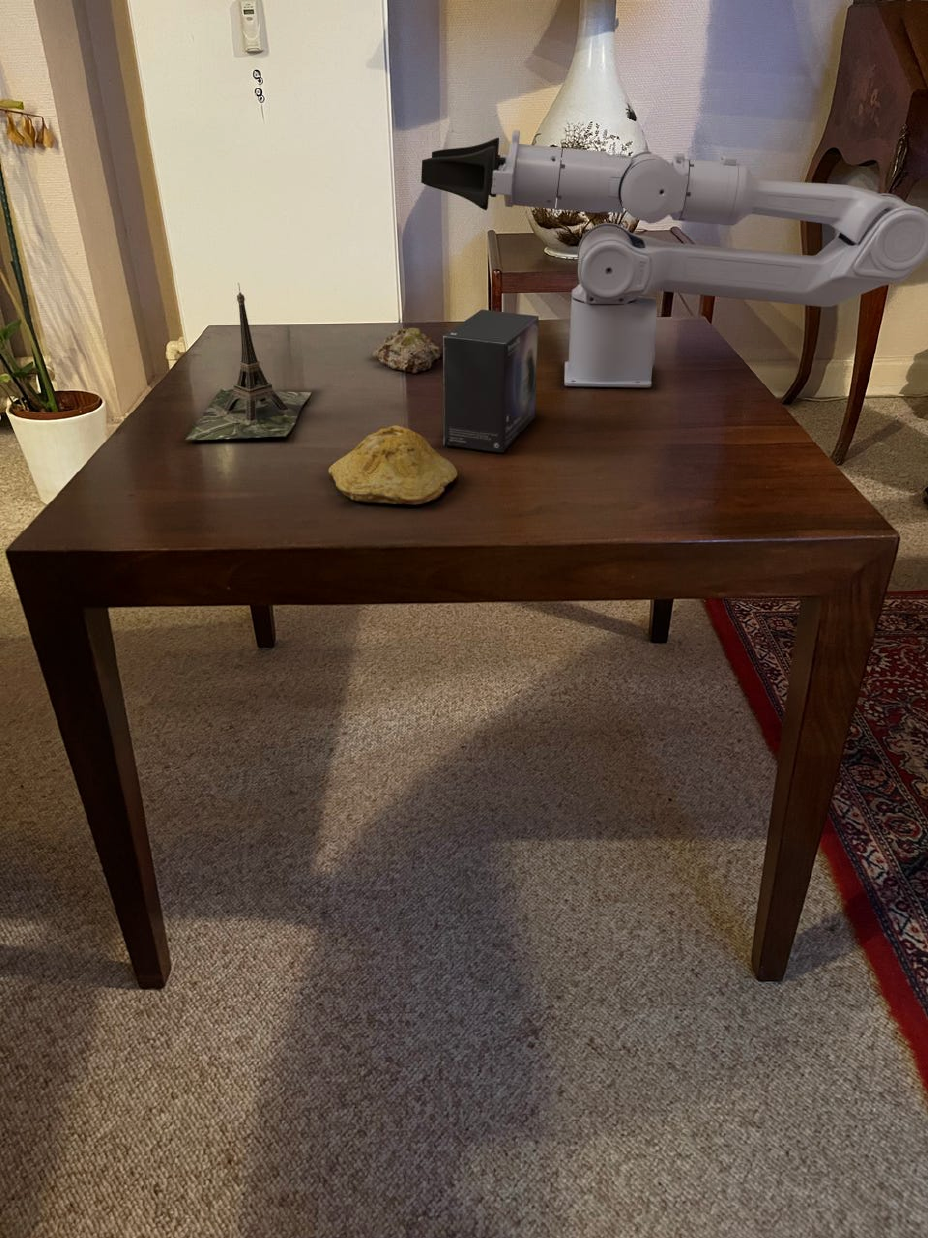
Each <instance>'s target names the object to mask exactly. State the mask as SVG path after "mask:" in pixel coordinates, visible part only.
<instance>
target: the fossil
mask: <svg viewBox="0 0 928 1238" xmlns="http://www.w3.org/2000/svg"><path fill="white" fill-rule="evenodd" d="M328 474H329V475H330V476H331V477H332V479H333V481H334V483H335V487H336V488H337V489H338V491H340V492H341V493H342V494H343V495H344V496H345V497H347V498H348V499H351V500H352V501H356V502H362V503H378V504H392V505H415V506H416V505H422V504H426V503H428V502H429V503H430V502H432V501H435V500H437V499H438V498H439V497H440V496H442V495H443V493H445V488H446V487H447V486H448V485H449V484H451V482H454V480H456V478H457V477H458V470H457V468H456V467H455V465H454V464H453V463H452V462H451V461H449V460H448V459H446V458H445V457H443V456H441V455H440V454H439V453H438V452H437V451H436V450H435V449H434V448H433V447H431V445H430V444H429V442H428V441H427V440H426V439H425V437H423V435H421V434H419V433H417V432H415V431H413V430H412V429H410V428H408V427H405V426H401V425H397V424H394V425H391V426H389V427H386V428H383V427H381V428H380V429H378V431H376V432H373V433H371V434H369V435H367V436H366V437H365V438H364V439H363V440H362V441H361V442H360V443H359V444H358V445H357V446H356V447H355V448H354V449H352V450H351V451H350V452H348V453H347V454H346V455H344V456H343V457H341V458H339V459H338V460H336V461H335V462H334V463H333V464H332V465H330V467H329V468H328Z"/></svg>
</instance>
